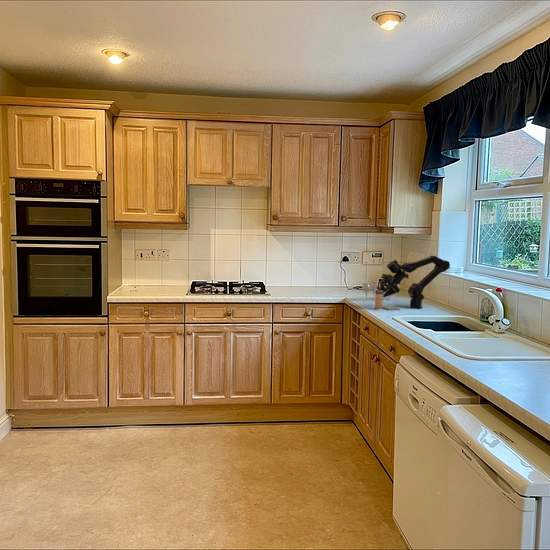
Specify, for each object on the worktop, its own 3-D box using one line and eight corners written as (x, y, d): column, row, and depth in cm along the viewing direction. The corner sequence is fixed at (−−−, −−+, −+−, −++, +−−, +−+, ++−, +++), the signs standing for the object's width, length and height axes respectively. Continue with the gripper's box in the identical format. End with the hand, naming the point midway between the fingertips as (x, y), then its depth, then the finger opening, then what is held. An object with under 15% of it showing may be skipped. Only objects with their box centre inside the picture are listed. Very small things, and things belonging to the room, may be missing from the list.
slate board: (391, 306, 340) (392, 305, 340) (400, 310, 329) (400, 308, 329) (380, 307, 339) (380, 306, 338) (388, 310, 327) (388, 309, 327)
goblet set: (396, 299, 372) (397, 281, 371) (400, 300, 367) (401, 282, 365) (360, 300, 365) (361, 281, 363) (364, 302, 359) (364, 282, 358)
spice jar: (383, 308, 333) (384, 290, 331) (380, 309, 329) (381, 291, 327) (376, 308, 335) (377, 289, 334) (373, 309, 331) (374, 290, 330)
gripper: (383, 268, 340) (366, 285, 338) (396, 271, 321) (378, 288, 320) (393, 280, 342) (377, 296, 341) (407, 283, 324) (389, 301, 323)
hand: (380, 295), depth 331 cm, fingers open, 9 cm apart
